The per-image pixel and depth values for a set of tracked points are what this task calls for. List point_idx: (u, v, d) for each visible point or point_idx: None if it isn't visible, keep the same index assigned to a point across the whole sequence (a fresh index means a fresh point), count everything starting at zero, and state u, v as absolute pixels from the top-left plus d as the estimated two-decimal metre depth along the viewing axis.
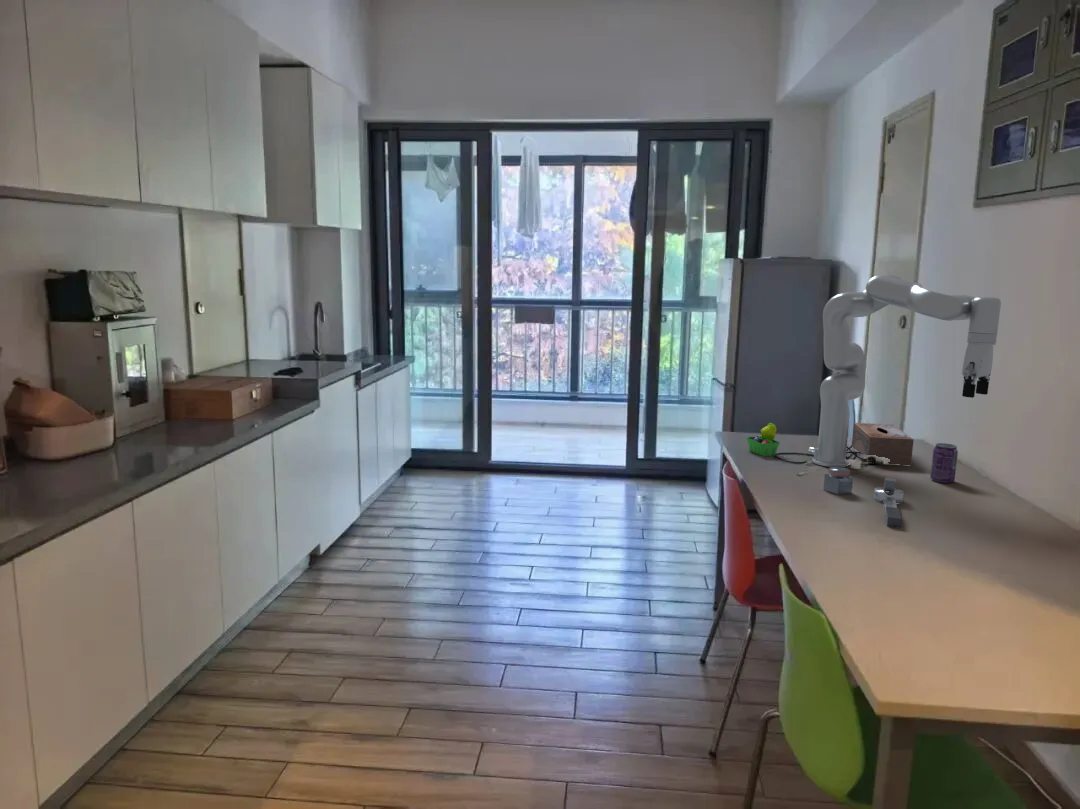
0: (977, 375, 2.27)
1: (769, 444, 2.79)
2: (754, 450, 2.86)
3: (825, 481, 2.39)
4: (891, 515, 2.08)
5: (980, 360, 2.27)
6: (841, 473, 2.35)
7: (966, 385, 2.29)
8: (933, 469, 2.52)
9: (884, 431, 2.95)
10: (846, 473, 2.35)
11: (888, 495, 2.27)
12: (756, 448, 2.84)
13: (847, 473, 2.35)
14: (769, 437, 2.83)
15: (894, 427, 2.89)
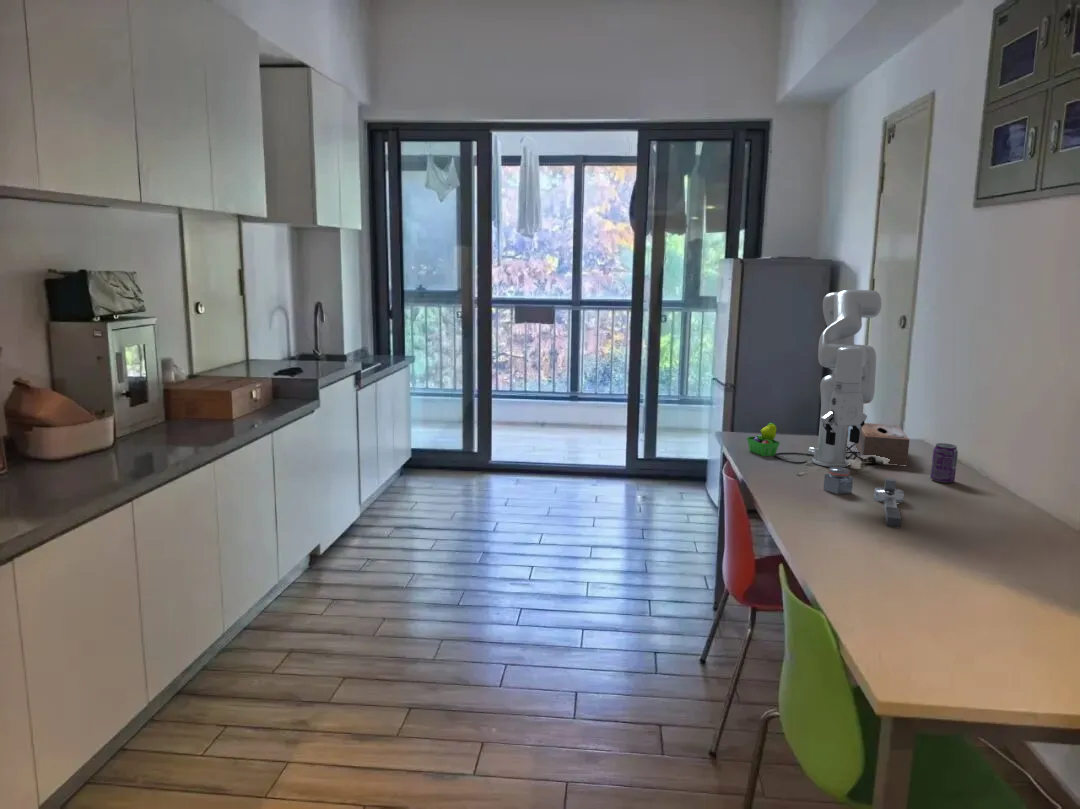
0: None
1: (769, 444, 2.79)
2: (754, 450, 2.86)
3: (825, 481, 2.39)
4: (891, 515, 2.08)
5: None
6: (841, 473, 2.35)
7: None
8: (933, 469, 2.52)
9: None
10: (846, 473, 2.35)
11: (888, 495, 2.27)
12: (756, 448, 2.84)
13: (847, 473, 2.35)
14: (769, 437, 2.83)
15: (897, 428, 2.88)
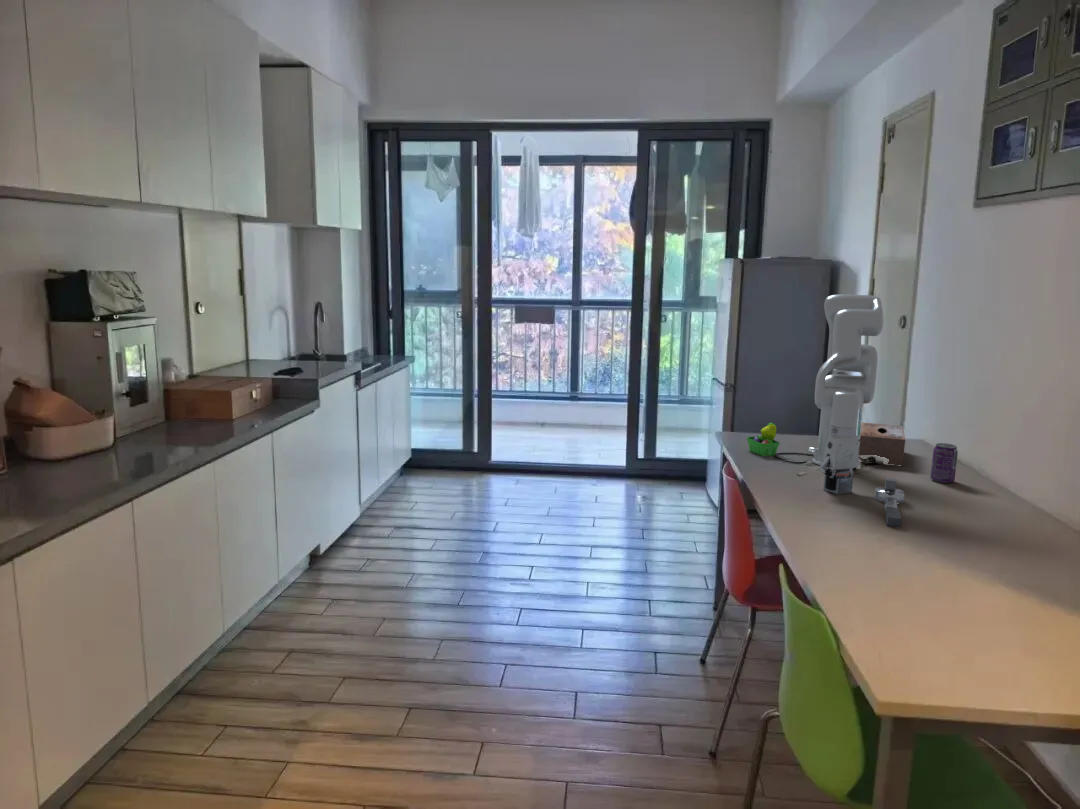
0: None
1: (769, 444, 2.79)
2: (754, 450, 2.86)
3: (825, 481, 2.39)
4: (891, 515, 2.08)
5: None
6: (841, 473, 2.35)
7: None
8: (933, 469, 2.52)
9: None
10: (846, 473, 2.35)
11: (889, 495, 2.27)
12: (756, 448, 2.84)
13: (847, 473, 2.35)
14: (769, 437, 2.83)
15: (899, 428, 2.87)
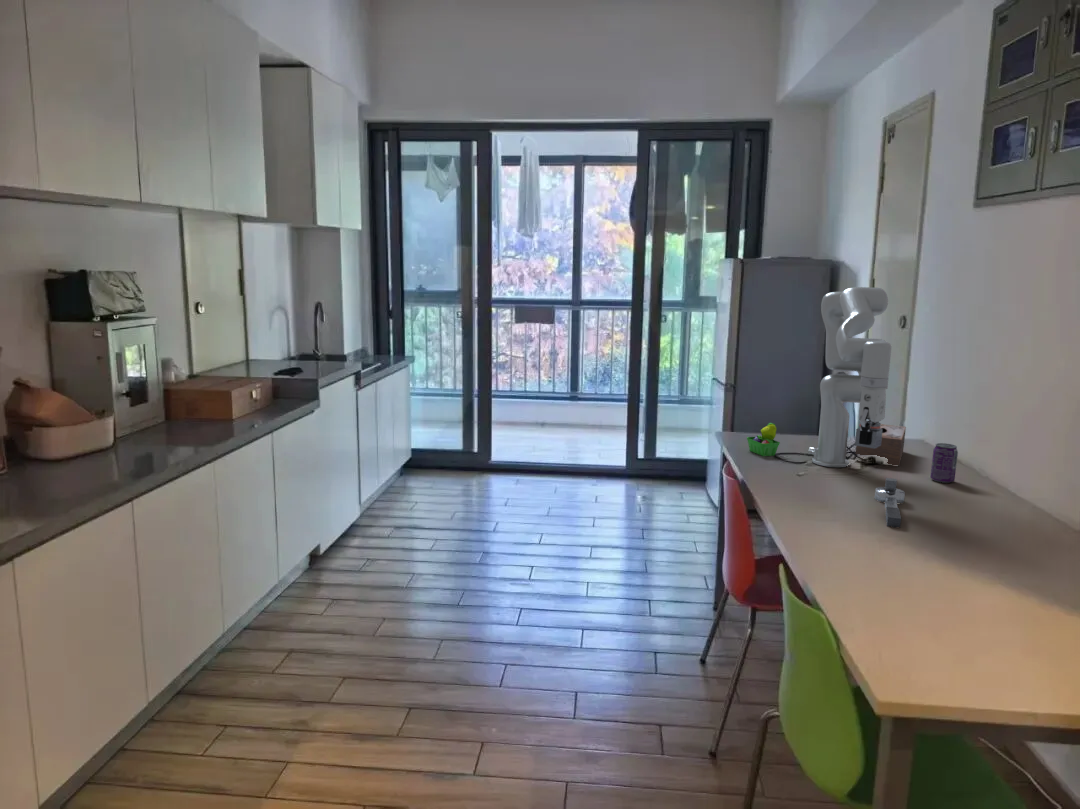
0: None
1: (769, 444, 2.79)
2: (754, 450, 2.86)
3: (857, 436, 2.30)
4: (891, 515, 2.08)
5: None
6: (876, 426, 2.28)
7: None
8: (933, 469, 2.52)
9: None
10: (880, 425, 2.29)
11: (889, 495, 2.27)
12: (756, 448, 2.84)
13: (880, 425, 2.29)
14: (769, 437, 2.83)
15: (901, 429, 2.86)
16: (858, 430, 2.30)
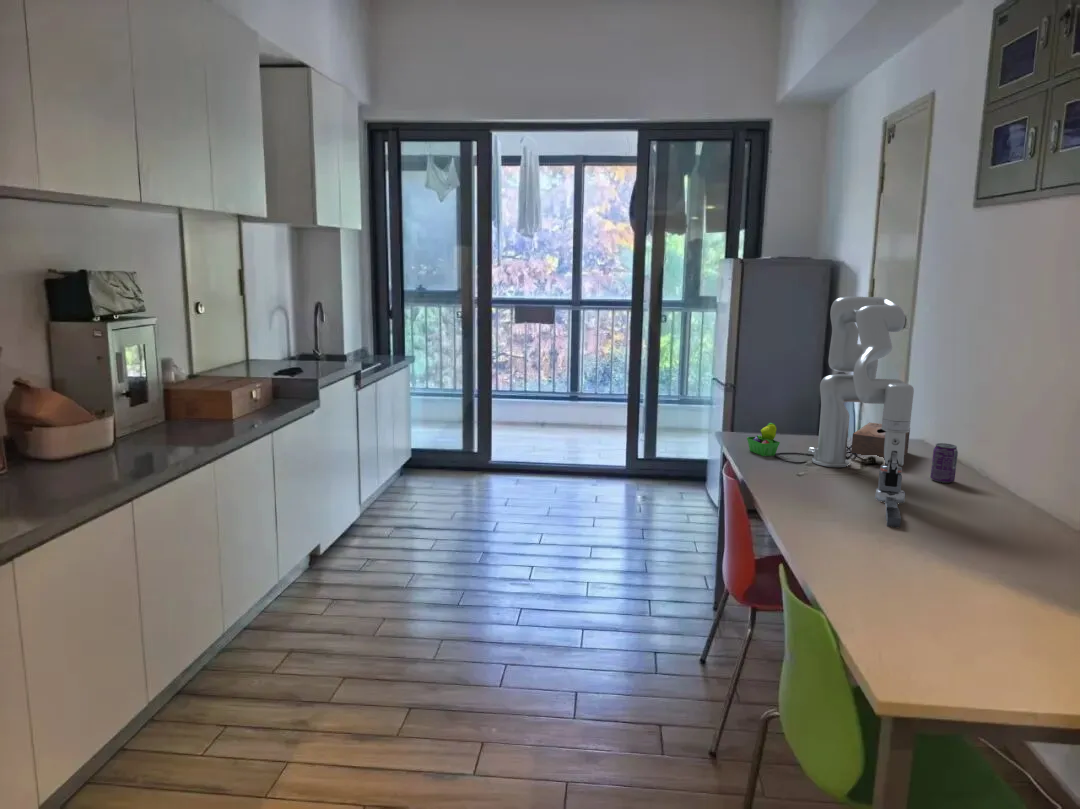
0: None
1: (769, 444, 2.79)
2: (754, 450, 2.86)
3: (881, 481, 2.28)
4: (891, 515, 2.08)
5: None
6: (900, 469, 2.27)
7: None
8: (933, 469, 2.52)
9: None
10: (901, 469, 2.29)
11: (889, 495, 2.27)
12: (756, 448, 2.84)
13: None
14: (769, 437, 2.83)
15: None
16: (882, 474, 2.28)
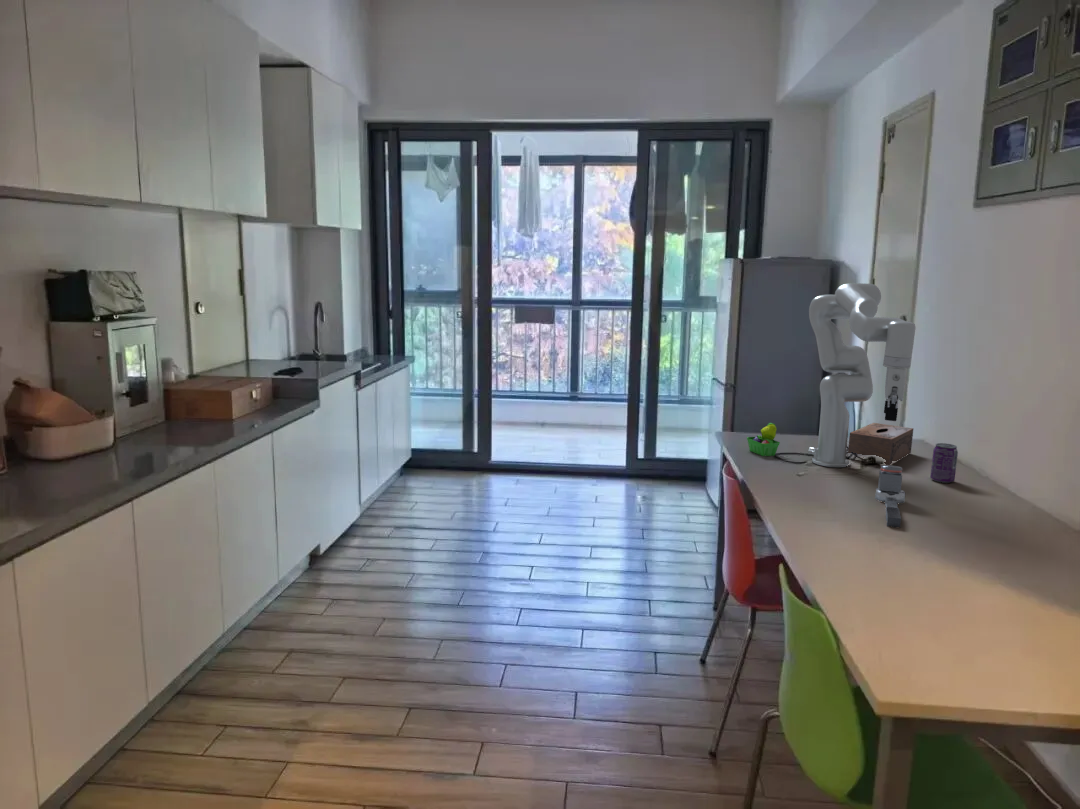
0: None
1: (769, 444, 2.79)
2: (754, 450, 2.86)
3: (882, 481, 2.28)
4: (891, 515, 2.08)
5: None
6: (900, 470, 2.27)
7: None
8: (933, 469, 2.52)
9: None
10: (901, 469, 2.29)
11: (889, 495, 2.27)
12: (756, 448, 2.84)
13: None
14: (769, 437, 2.83)
15: (905, 430, 2.84)
16: (883, 474, 2.28)
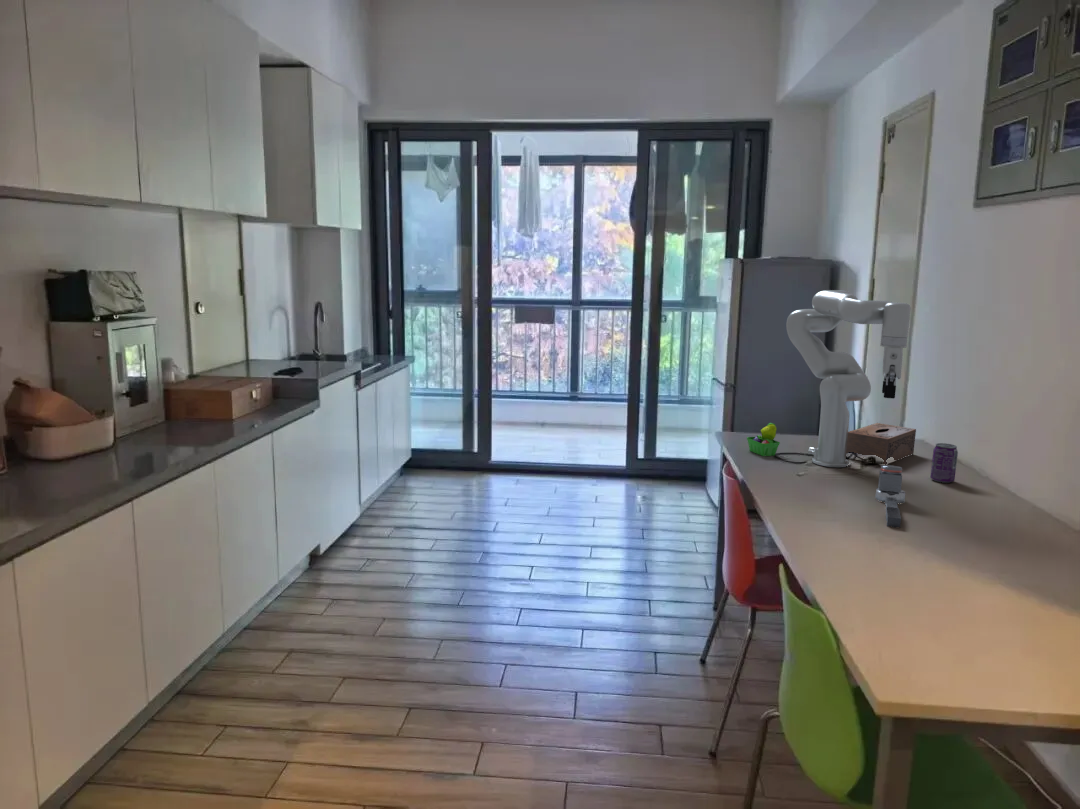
0: None
1: (769, 444, 2.79)
2: (754, 450, 2.86)
3: (882, 481, 2.28)
4: (891, 515, 2.08)
5: None
6: (900, 470, 2.27)
7: None
8: (933, 469, 2.52)
9: None
10: (901, 469, 2.29)
11: (890, 495, 2.27)
12: (756, 448, 2.84)
13: None
14: (769, 437, 2.83)
15: (907, 430, 2.83)
16: (883, 474, 2.28)
